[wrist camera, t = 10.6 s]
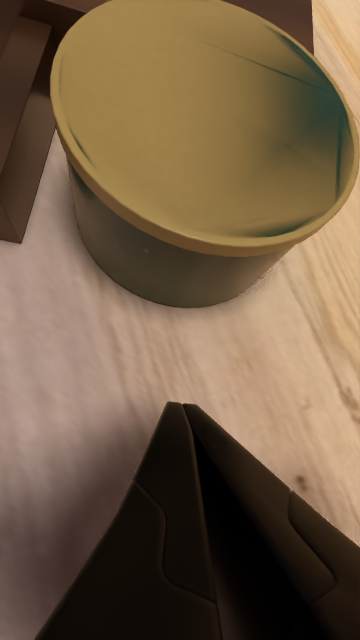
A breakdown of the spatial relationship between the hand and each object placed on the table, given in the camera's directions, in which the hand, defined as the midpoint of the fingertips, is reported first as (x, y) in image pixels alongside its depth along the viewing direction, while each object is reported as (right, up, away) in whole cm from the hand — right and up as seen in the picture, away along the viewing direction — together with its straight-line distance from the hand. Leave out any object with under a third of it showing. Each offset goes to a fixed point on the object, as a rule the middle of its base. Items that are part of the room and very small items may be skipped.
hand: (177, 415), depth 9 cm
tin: (0, +9, +10) cm, 14 cm away
